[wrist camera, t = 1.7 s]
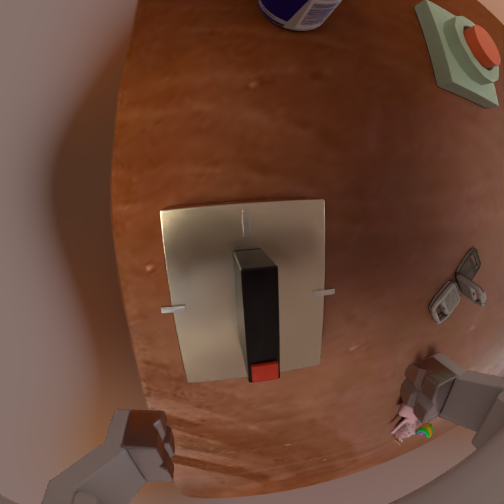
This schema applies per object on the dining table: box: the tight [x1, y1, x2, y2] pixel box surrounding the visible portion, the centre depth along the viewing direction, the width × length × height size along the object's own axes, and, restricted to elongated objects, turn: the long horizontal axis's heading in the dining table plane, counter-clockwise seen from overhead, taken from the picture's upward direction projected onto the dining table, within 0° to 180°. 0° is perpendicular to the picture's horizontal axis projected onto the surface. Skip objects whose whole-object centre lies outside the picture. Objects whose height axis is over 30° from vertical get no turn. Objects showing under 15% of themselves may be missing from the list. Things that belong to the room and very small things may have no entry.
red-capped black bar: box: [233, 249, 280, 383], centre depth 14 cm, size 6×2×4 cm, turn 3°
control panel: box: [159, 197, 335, 383], centre depth 17 cm, size 11×10×3 cm
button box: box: [414, 0, 499, 108], centre depth 15 cm, size 10×9×4 cm
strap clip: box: [429, 248, 487, 324], centre depth 20 cm, size 8×3×4 cm, turn 132°
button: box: [463, 25, 501, 68], centre depth 13 cm, size 4×4×2 cm
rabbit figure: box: [391, 403, 433, 445], centre depth 22 cm, size 6×6×15 cm
